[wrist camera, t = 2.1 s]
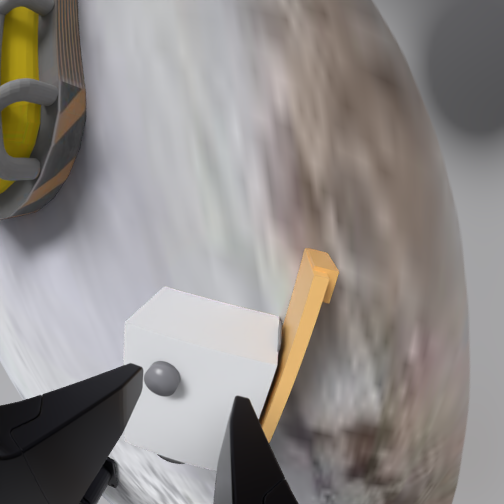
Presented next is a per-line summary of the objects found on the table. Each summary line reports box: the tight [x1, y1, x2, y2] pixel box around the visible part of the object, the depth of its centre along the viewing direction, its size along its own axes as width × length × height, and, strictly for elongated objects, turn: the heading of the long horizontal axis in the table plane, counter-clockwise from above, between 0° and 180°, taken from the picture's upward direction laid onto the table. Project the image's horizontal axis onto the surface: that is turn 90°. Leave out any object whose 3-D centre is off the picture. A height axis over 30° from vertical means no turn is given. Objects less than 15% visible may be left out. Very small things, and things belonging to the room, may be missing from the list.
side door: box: [259, 248, 339, 443], centre depth 18 cm, size 15×1×6 cm, turn 167°
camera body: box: [123, 286, 282, 472], centre depth 19 cm, size 12×8×7 cm, turn 167°
